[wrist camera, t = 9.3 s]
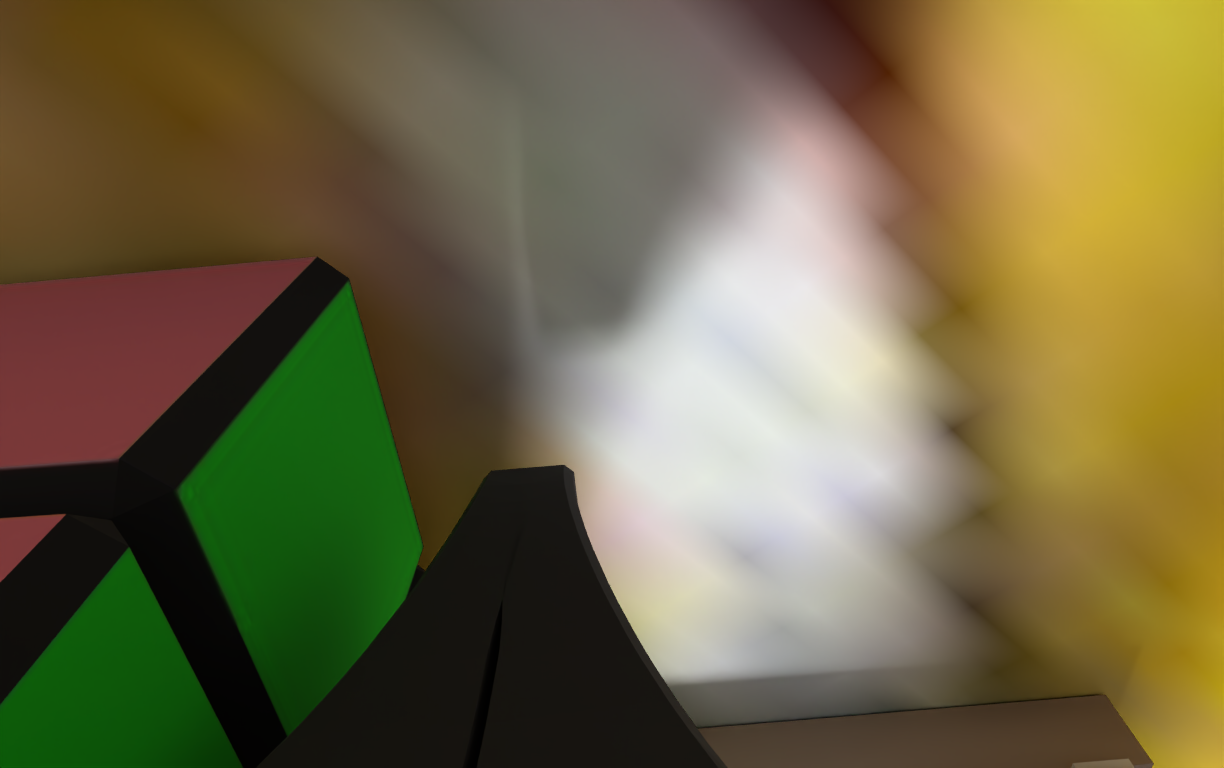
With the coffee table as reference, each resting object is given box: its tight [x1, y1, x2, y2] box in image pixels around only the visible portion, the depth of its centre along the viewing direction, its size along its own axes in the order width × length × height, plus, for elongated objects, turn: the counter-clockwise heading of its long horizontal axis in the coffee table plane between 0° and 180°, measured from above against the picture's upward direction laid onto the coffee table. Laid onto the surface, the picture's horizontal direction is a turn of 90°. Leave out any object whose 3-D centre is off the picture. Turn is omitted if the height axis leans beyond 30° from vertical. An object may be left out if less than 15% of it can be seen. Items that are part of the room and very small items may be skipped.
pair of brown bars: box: [698, 695, 1153, 768], centre depth 11 cm, size 18×27×2 cm, turn 94°
